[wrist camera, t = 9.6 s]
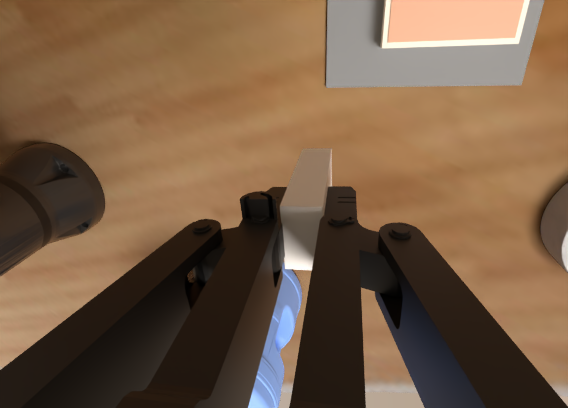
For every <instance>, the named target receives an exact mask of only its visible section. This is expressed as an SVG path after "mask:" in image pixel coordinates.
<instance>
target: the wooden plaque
mask: <svg viewBox="0 0 568 408" xmlns="http://www.w3.org/2000/svg"><path fill="white" fill-rule="evenodd" d="M529 1H530V0H384V8H383V20H382V32H381V44H380V47H381V48H410V47H439V46H468V45H497V44H519V41H520V37H521V33H522V29H523V25H524V21H525V17H526V13H527V9H528V5H529Z"/></svg>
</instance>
